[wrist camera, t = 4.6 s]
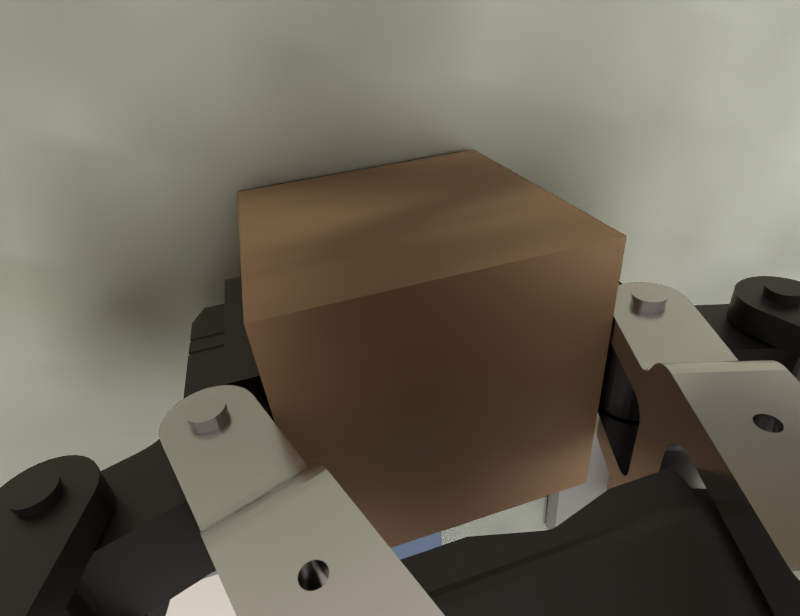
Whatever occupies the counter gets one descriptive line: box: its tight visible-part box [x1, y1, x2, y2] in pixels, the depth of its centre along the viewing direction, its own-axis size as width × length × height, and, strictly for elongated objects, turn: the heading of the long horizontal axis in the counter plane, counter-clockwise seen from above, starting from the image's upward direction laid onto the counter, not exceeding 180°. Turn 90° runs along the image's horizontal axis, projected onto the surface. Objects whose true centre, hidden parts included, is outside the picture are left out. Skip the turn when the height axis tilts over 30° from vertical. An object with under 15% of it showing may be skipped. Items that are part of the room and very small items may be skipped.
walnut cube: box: [237, 150, 626, 548], centre depth 10 cm, size 5×5×5 cm
